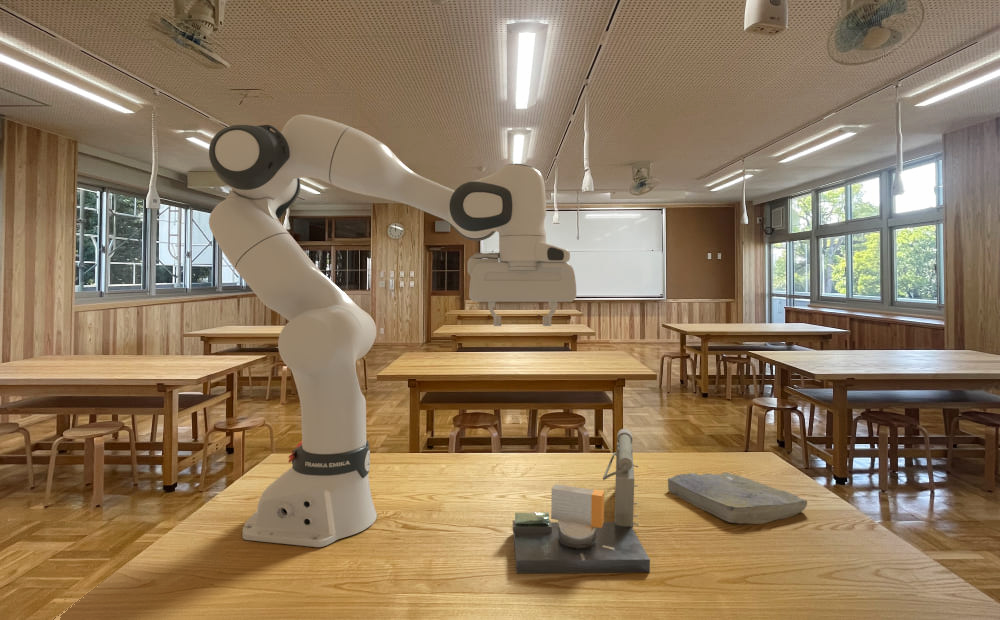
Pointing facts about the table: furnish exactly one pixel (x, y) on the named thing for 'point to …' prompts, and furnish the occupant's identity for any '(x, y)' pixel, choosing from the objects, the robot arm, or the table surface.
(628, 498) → the geiger counter
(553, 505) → the knob
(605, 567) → the stand
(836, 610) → the table surface
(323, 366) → the robot arm
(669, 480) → the grey stone slab
